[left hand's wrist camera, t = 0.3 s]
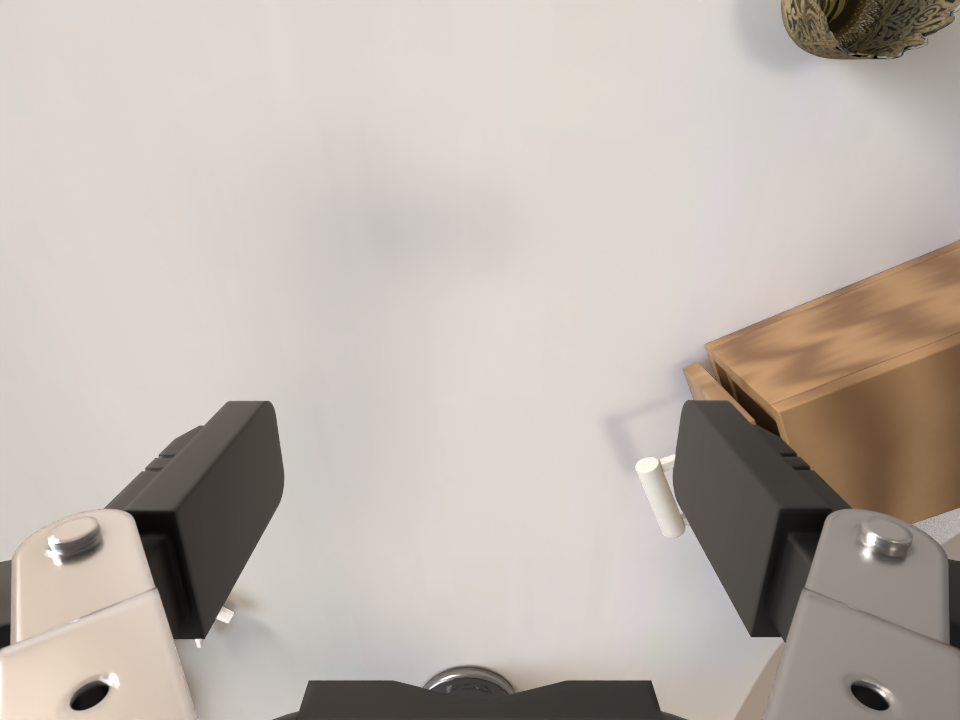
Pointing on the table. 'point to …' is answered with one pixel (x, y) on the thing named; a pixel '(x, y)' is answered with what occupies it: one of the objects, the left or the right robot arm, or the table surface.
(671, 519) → the drawer
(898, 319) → the cabinet
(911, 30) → the cup
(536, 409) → the table surface
